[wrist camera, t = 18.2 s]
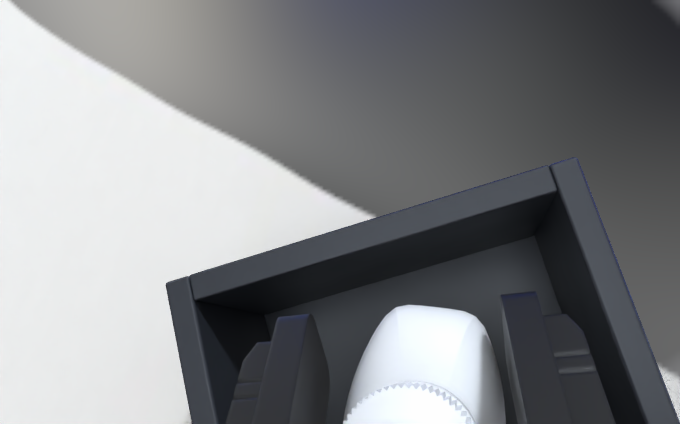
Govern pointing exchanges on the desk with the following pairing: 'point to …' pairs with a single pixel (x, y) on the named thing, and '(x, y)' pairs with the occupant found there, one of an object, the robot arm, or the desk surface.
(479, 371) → the eye dropper bottle
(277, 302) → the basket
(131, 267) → the desk surface
